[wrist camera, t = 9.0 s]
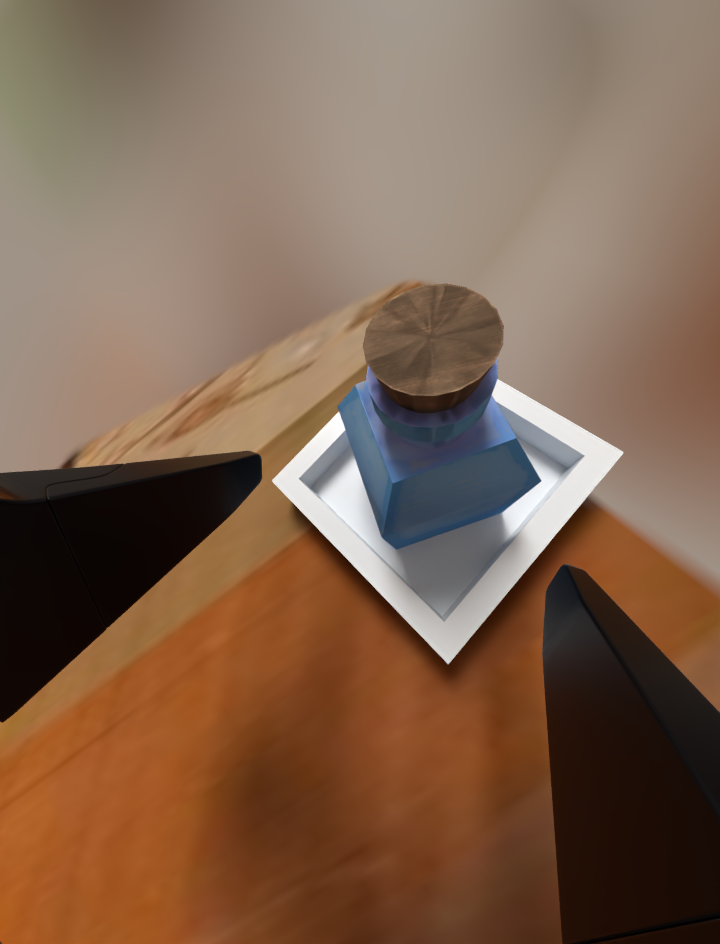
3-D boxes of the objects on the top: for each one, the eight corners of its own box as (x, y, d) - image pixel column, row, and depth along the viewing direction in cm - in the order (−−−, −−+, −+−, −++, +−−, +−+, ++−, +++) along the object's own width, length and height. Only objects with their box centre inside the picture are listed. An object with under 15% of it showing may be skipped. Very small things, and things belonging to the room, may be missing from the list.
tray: (592, 472, 17) (624, 452, 15) (444, 648, 16) (448, 664, 13) (417, 362, 22) (416, 332, 19) (292, 493, 21) (271, 480, 18)
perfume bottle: (396, 549, 17) (342, 505, 6) (363, 455, 20) (280, 299, 8) (501, 512, 17) (653, 392, 6) (455, 420, 19) (498, 203, 8)
